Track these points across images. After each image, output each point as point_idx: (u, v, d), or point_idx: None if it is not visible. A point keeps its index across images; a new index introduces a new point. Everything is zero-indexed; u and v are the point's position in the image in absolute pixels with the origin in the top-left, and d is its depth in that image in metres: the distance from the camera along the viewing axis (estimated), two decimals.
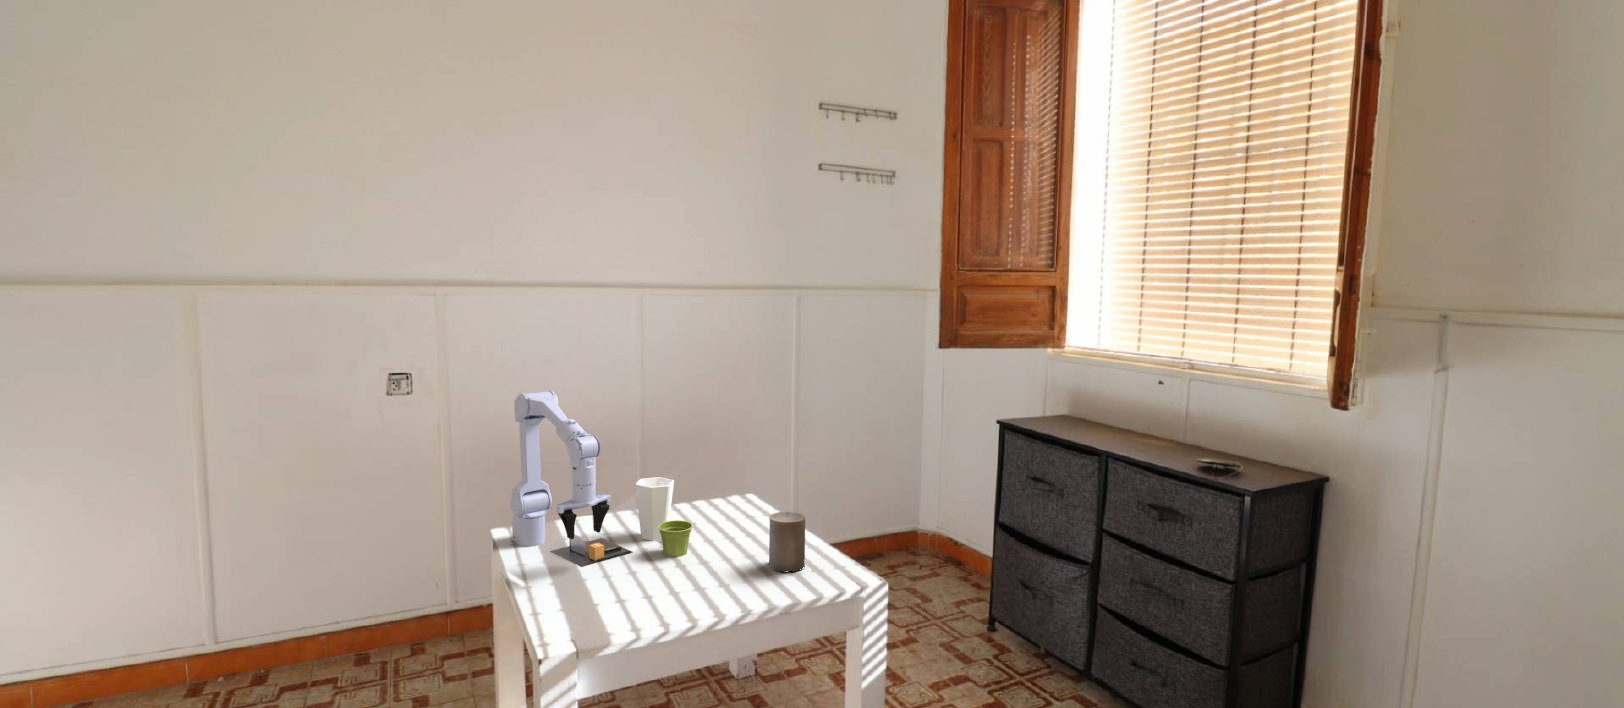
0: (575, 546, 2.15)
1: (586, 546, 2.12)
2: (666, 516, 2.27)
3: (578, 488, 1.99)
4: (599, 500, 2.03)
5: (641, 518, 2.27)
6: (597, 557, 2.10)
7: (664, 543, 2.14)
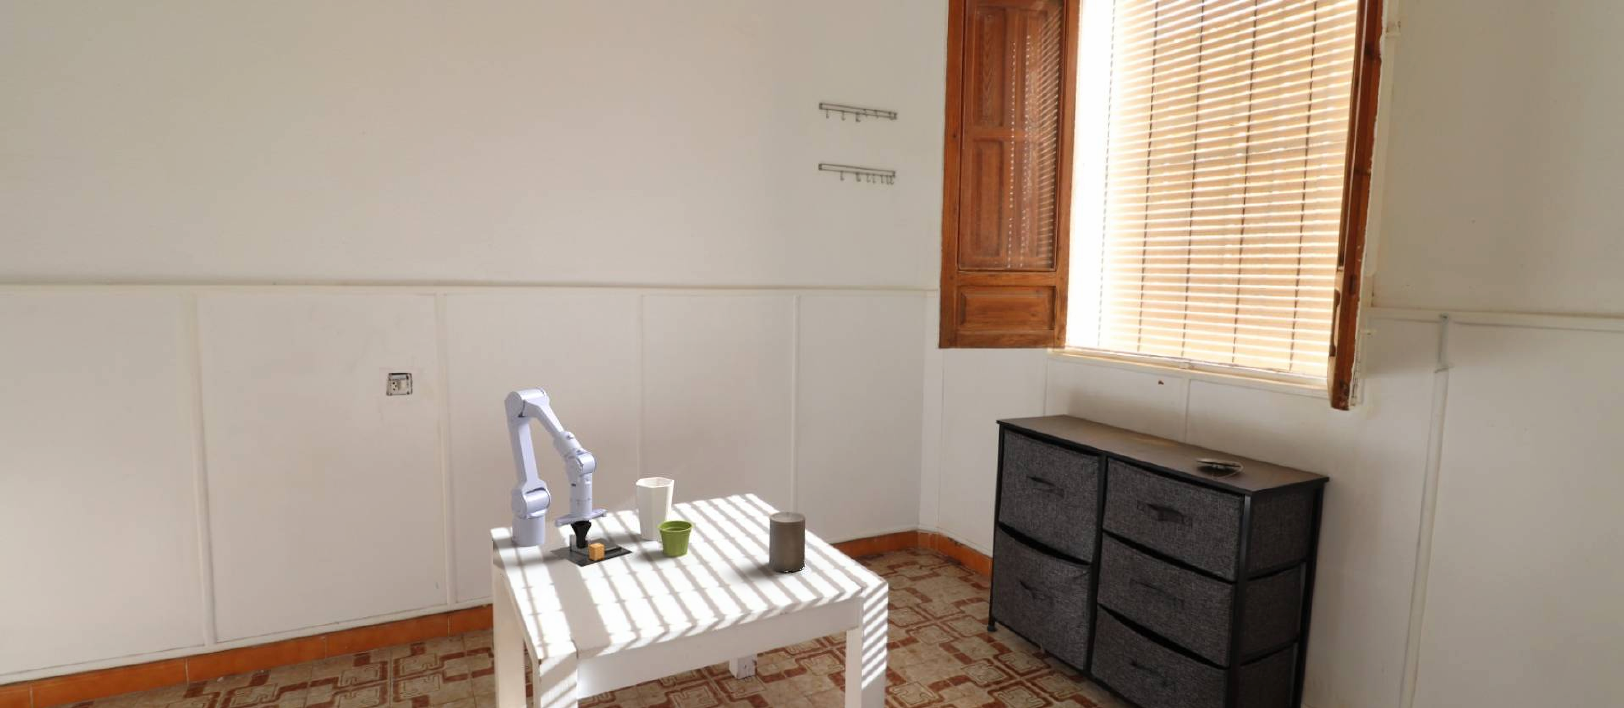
0: (576, 546, 2.15)
1: None
2: (666, 516, 2.27)
3: (575, 503, 2.09)
4: (595, 515, 2.13)
5: (641, 518, 2.27)
6: (597, 557, 2.10)
7: (664, 543, 2.14)
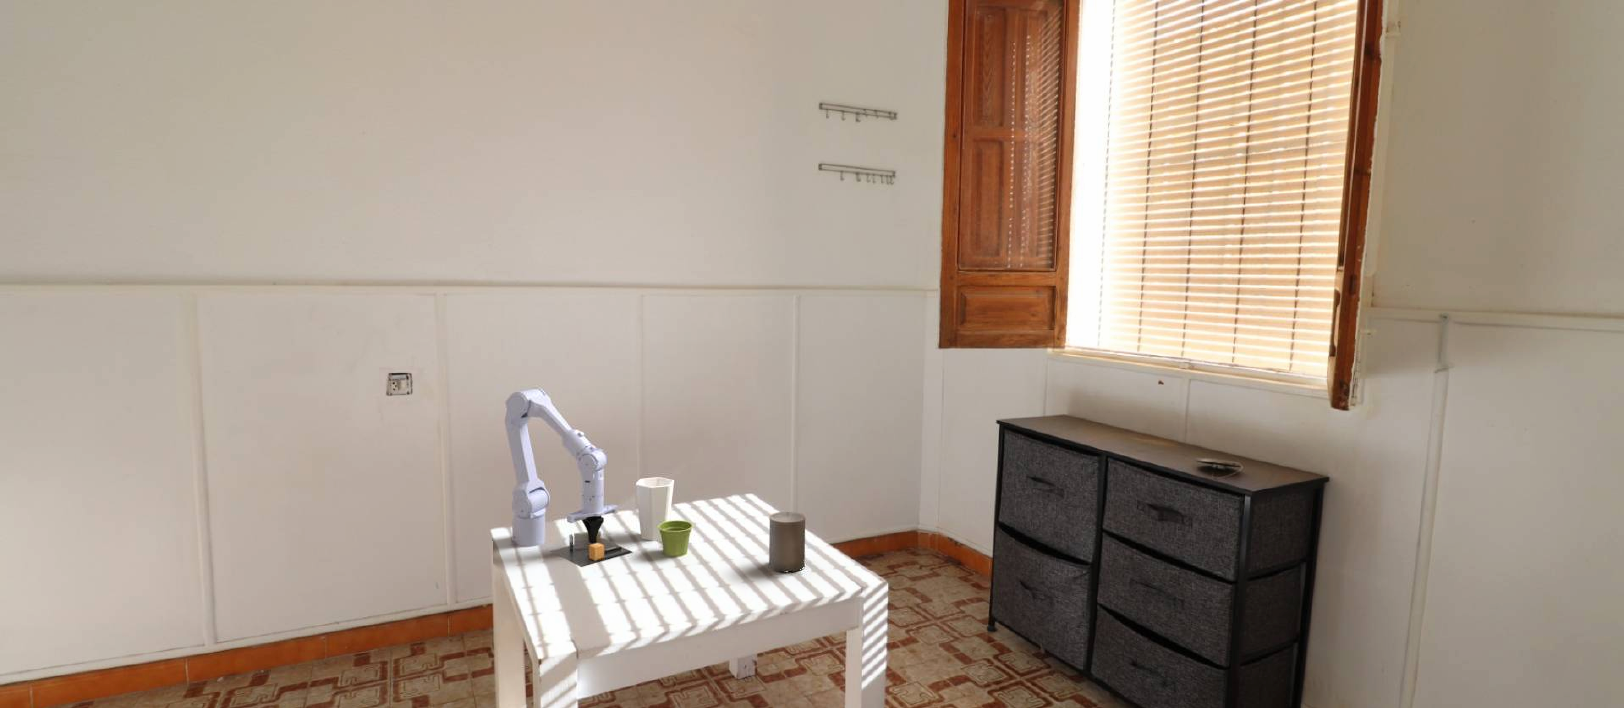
0: (582, 542, 2.18)
1: (600, 536, 2.20)
2: (666, 516, 2.27)
3: (587, 499, 2.13)
4: (607, 510, 2.18)
5: (641, 518, 2.27)
6: (597, 557, 2.10)
7: (664, 543, 2.14)
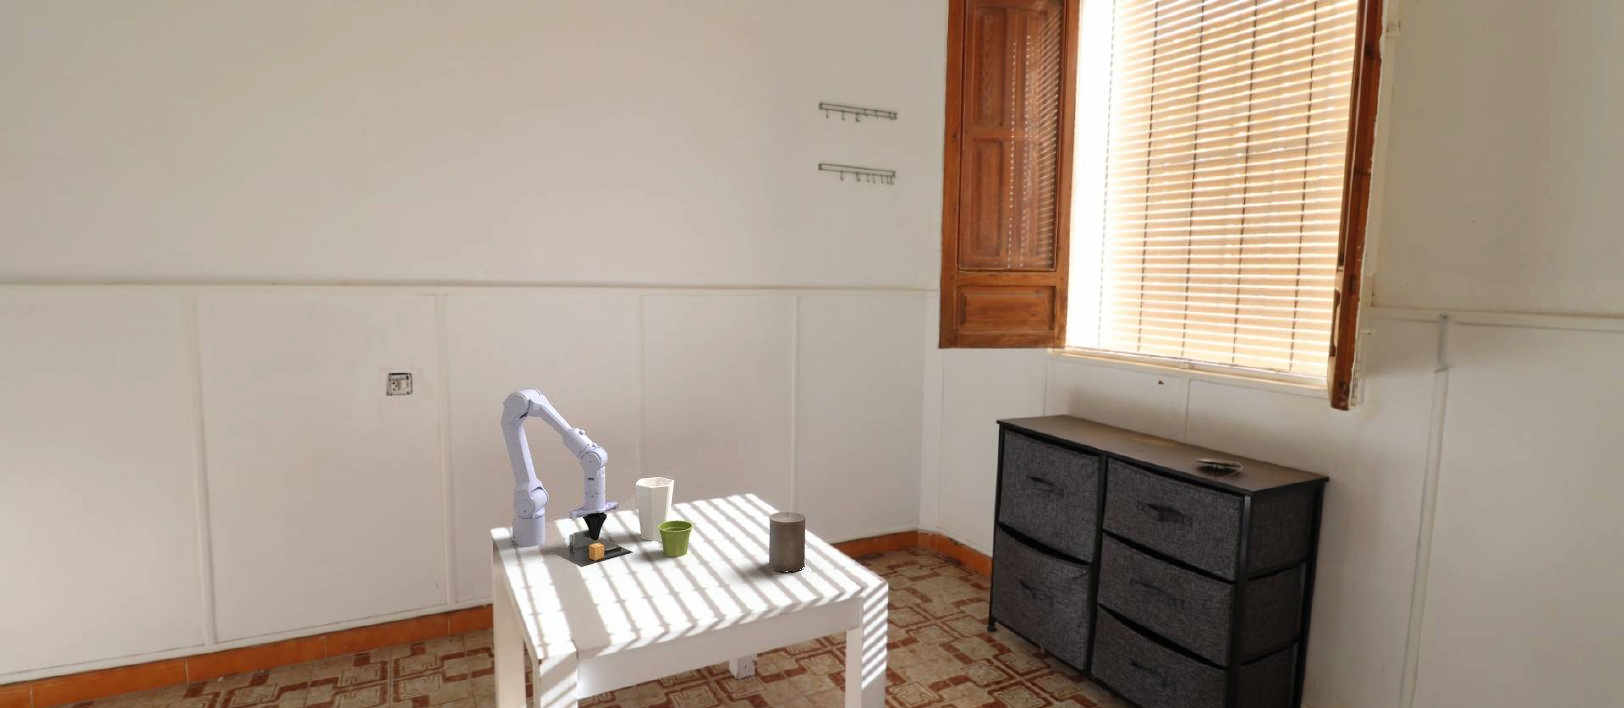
0: (581, 541, 2.19)
1: None
2: (666, 516, 2.27)
3: (589, 496, 2.16)
4: (608, 507, 2.21)
5: (641, 518, 2.27)
6: (597, 557, 2.10)
7: (664, 543, 2.14)
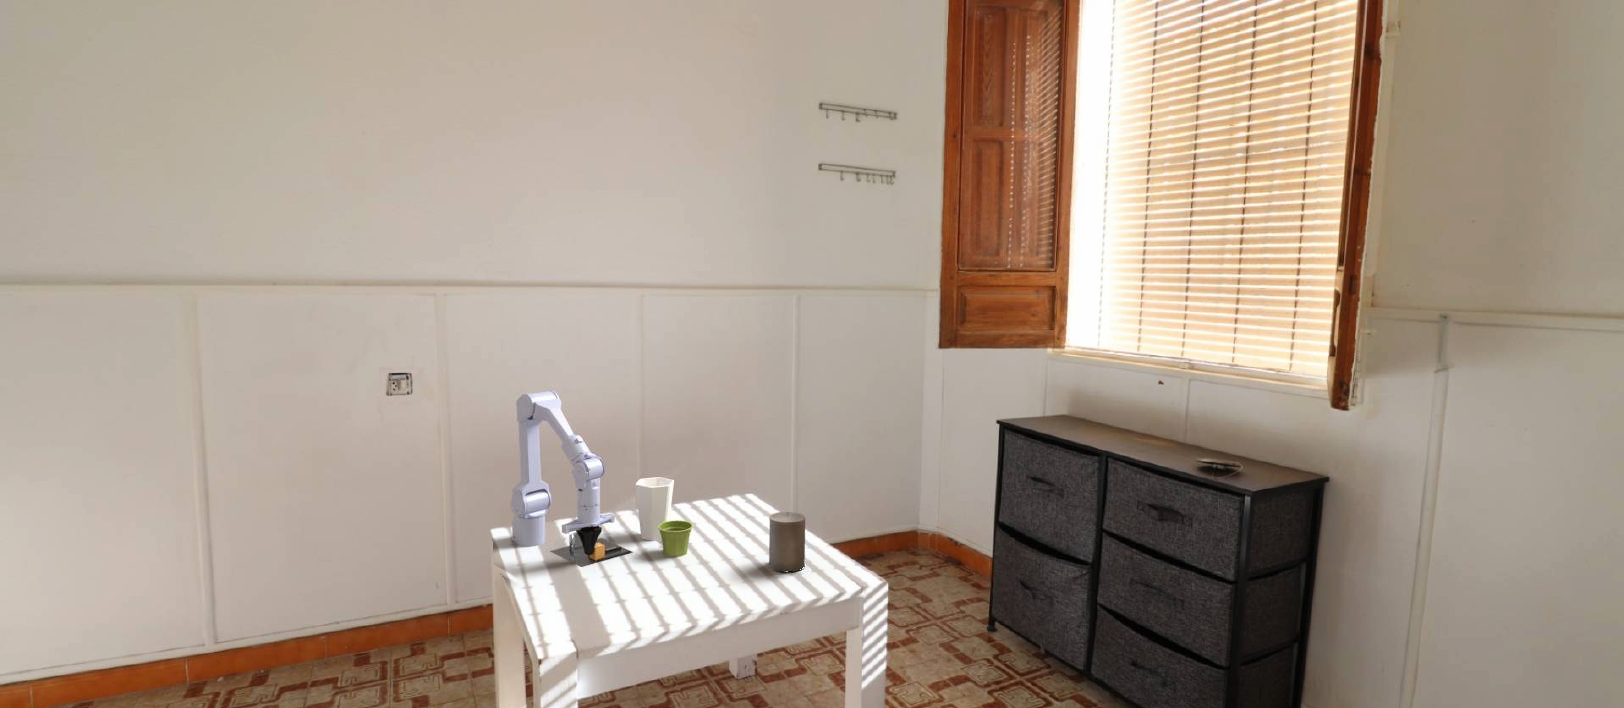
0: None
1: None
2: (666, 516, 2.27)
3: (583, 509, 2.05)
4: (603, 520, 2.09)
5: (641, 518, 2.27)
6: (598, 557, 2.10)
7: (664, 543, 2.14)
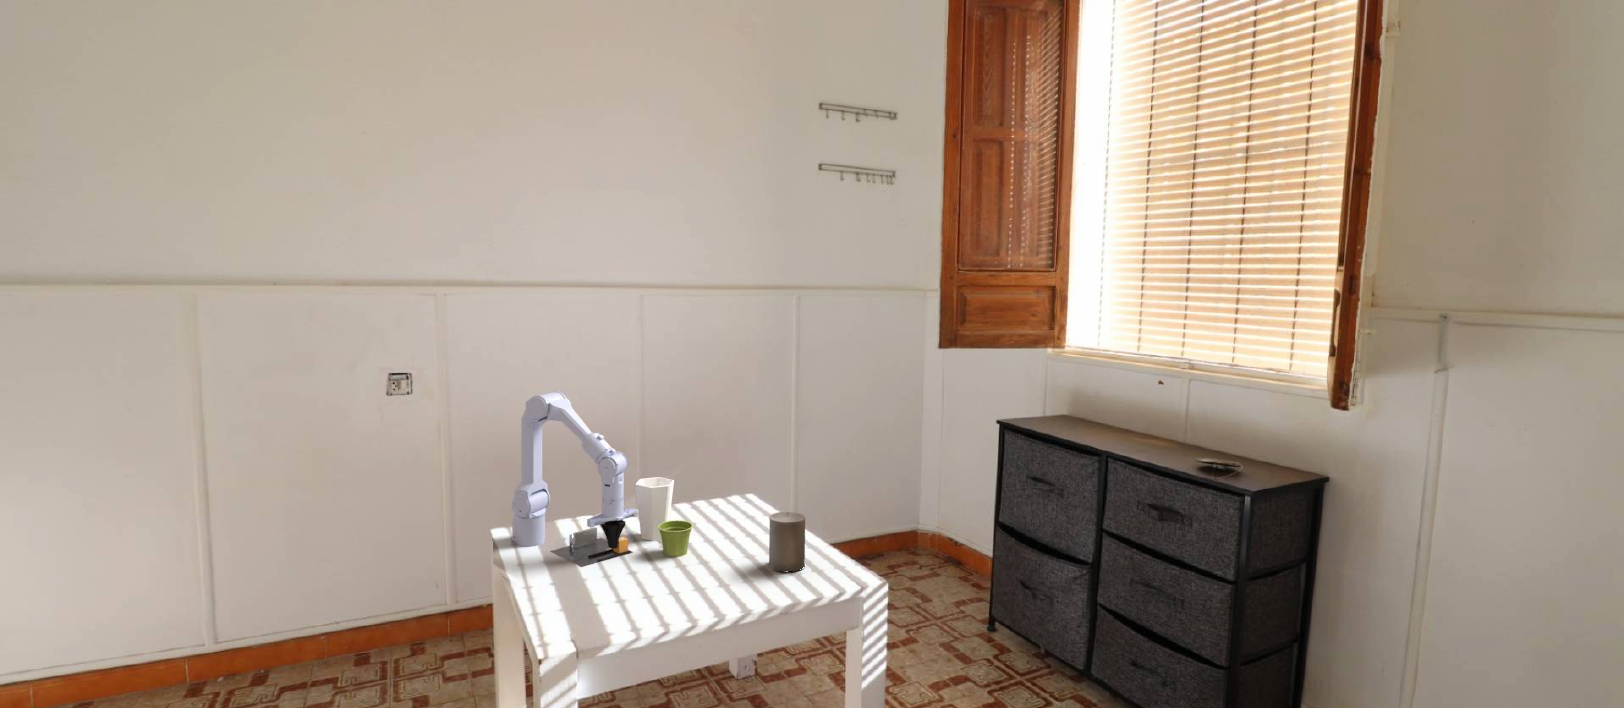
0: (581, 541, 2.19)
1: None
2: (666, 516, 2.27)
3: (607, 503, 2.10)
4: (627, 514, 2.15)
5: (641, 518, 2.27)
6: (621, 550, 2.15)
7: (664, 543, 2.14)
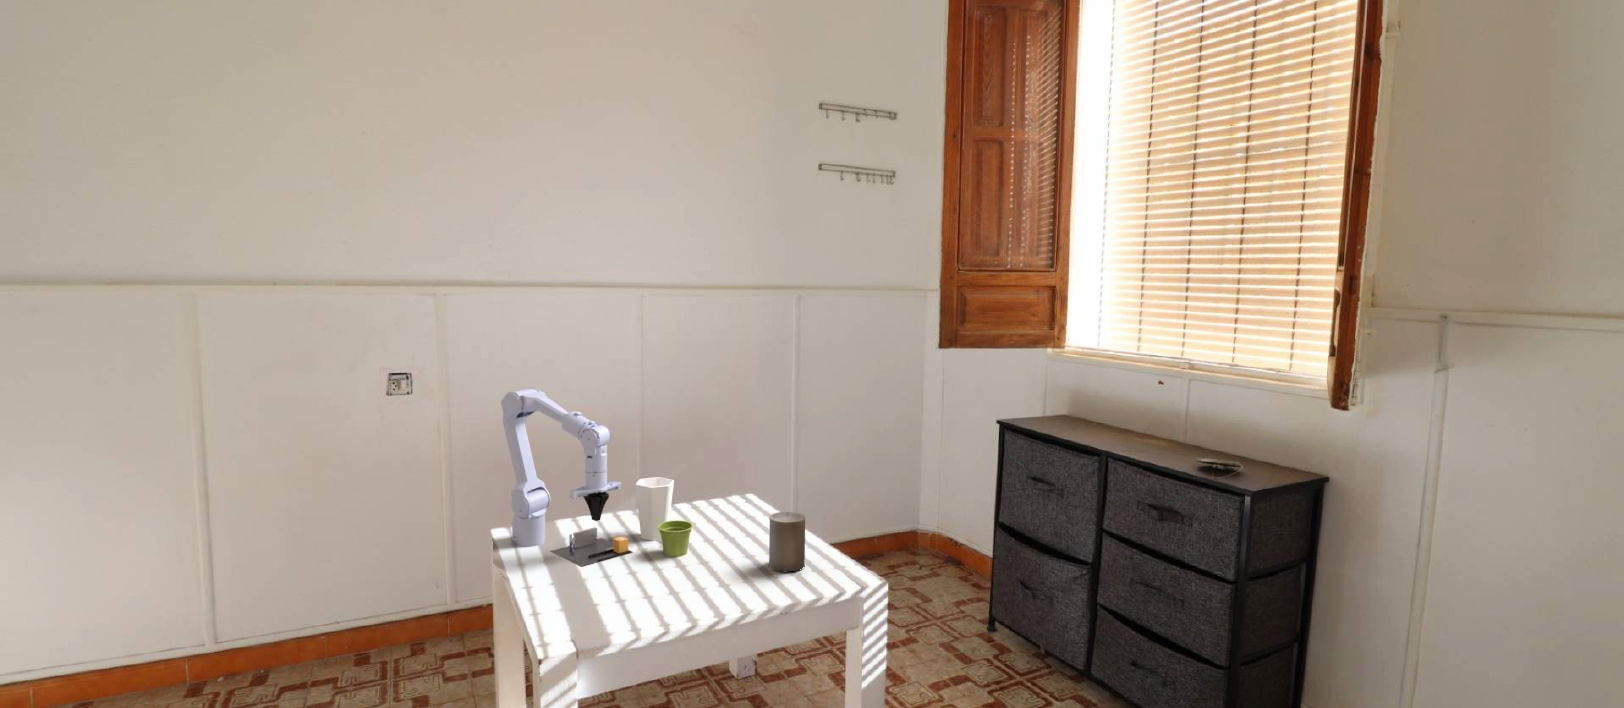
0: (581, 541, 2.19)
1: None
2: (666, 516, 2.27)
3: (590, 475, 2.10)
4: (610, 487, 2.14)
5: (641, 518, 2.27)
6: (621, 550, 2.15)
7: (664, 543, 2.14)
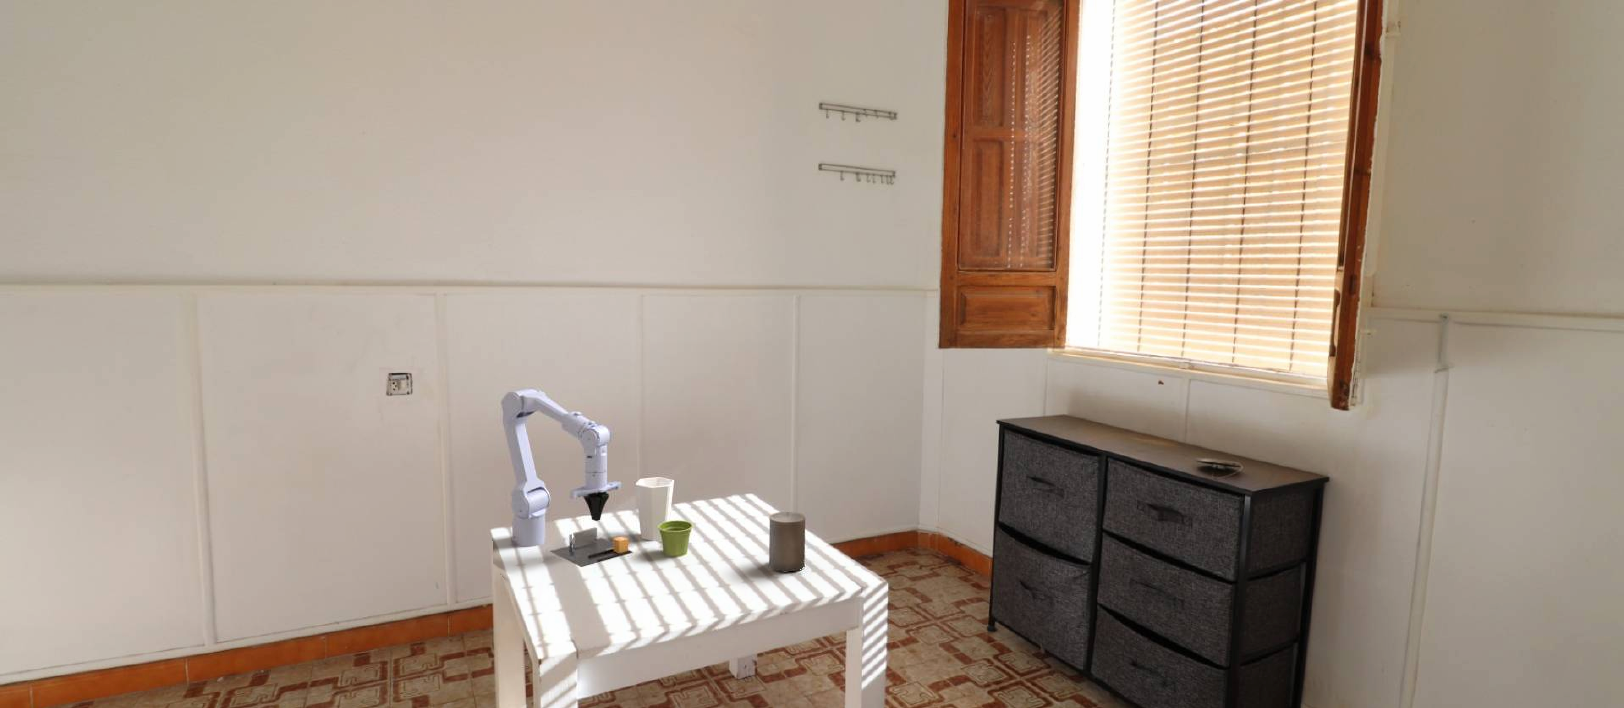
0: (581, 541, 2.19)
1: None
2: (666, 516, 2.27)
3: (590, 475, 2.10)
4: (610, 487, 2.14)
5: (641, 518, 2.27)
6: (621, 550, 2.15)
7: (664, 543, 2.14)
